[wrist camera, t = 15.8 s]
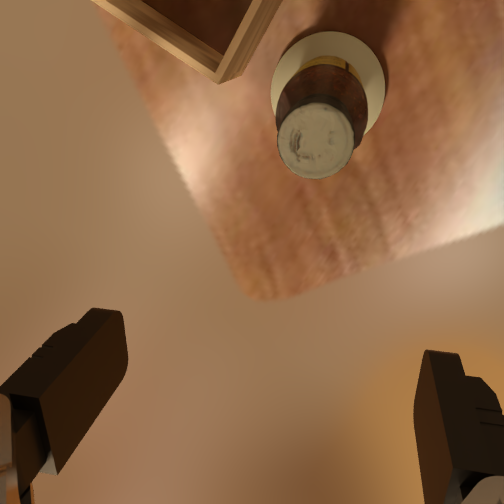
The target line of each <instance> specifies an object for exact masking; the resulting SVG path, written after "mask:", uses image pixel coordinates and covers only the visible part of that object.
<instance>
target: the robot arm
mask: <svg viewBox="0 0 504 504" xmlns="http://www.w3.org/2000/svg"><path fill="white" fill-rule="evenodd" d="M127 366H128V351H127V344H126V336H125V328H124V321H123V316H122V313H121V312H120V311H116V310H107V309H100V308H91V309H90V310H89V311H88V312H87V313H86V314H85V315H84V316H83V317H82V318H81V319H80V320H79V321H78V322H77V323H76V324H75V323H71V324H69V325H68V326H66V327H64V328H62V329H60V330H58V331H57V332H55V333H54V334H53V335H52V336H51V337H50V338H49V339H48V340H47V341H45V342H44V344H42V347H41V348H38V349H37V350H36V352H34V353H33V354H32V357H31V358H30V357H29V358H28V359H27V360H26V361H25V362H24V363H23V364H22V365H21V367H19V368H18V369H17V370H16V371H15V372H14V373H13V374H12V375H11V376H10V377H9V378H8V379H7V380H6V381H5V382H4V383H3V384H2V385H1V386H0V504H35V503H34V490H33V485H32V481H33V479H34V478H35V477H36V475H37V474H38V472H42V473H47V474H52V475H58V474H59V472H60V471H61V469H62V468H63V467H64V465H65V464H66V462H67V461H68V459H69V458H70V456H71V454H72V453H73V452H74V450H75V449H76V447H77V446H78V444H79V443H80V441H81V440H82V439H83V437H84V436H85V434H86V433H87V431H88V430H89V428H90V427H91V425H92V424H93V422H94V421H95V419H96V418H97V416H98V415H99V413H100V412H101V410H102V409H103V408H104V406H105V405H106V403H107V402H108V400H109V399H110V397H111V396H112V394H113V393H114V391H115V390H116V388H117V387H118V386H119V384H120V383H121V381H122V380H123V378H124V376H125V373H126V370H127ZM413 414H414V429H415V436H416V443H417V451H418V458H419V465H420V472H421V479H422V486H423V494H424V501H425V504H504V415H502V409H501V407H500V404H499V401H498V399H497V396H496V394H495V393H494V391H493V390H492V389H491V388H490V387H489V386H488V385H487V384H486V383H485V382H484V381H483V380H482V378H480V377H472V376H465V372H464V370H463V366H462V363H461V359H460V356H459V355H458V354H457V353H450V352H441V351H433V350H425V352H424V355H423V359H422V364H421V369H420V374H419V379H418V384H417V389H416V395H415V400H414V413H413Z"/></svg>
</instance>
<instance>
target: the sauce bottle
mask: <svg viewBox="0 0 504 504" xmlns="http://www.w3.org/2000/svg"><path fill="white" fill-rule="evenodd" d="M367 122H368V102H367V97H366V93H365V91H364V88H363V85H362V82H361V79H360V76H359V74H358V73H357V71H356V69H355V68H354V67H353V66H352V65H351V64H350V63H348V62H347V61H345V60H344V59H342V58H339V57H336V56H329V55H328V56H319V57H316V58H314V59H312V60H310V61H308V62H306V63H305V64H304V65H302V66H301V67H300V68H299V70H298V71H297V72H296V73H295V74H294V75H293V76H292V77H291V78H290V80H289V81H288V82H287V84H286V85H285V87H284V88H283V90H282V92H281V94H280V97H279V100H278V103H277V108H276V126H277V131H278V135H277V146H278V150H279V154H280V157H281V159H282V160H283V162H284V163H285V165H286V166H287V167H288V168H289V169H290V170H291V171H292V172H293V173H295V174H297V175H298V176H301V177H304V178H309V179H323V178H326V177H329V176H331V175H333V174H335V173H337V172H339V171H340V170H341V169H342V168H343V167H344V166H345V165H346V164H347V163H348V161H349V159H350V158H351V155H352V153H353V150H354V149H355V148H357V147H358V146H359V145H360V143H361V140H362V138H363V135H364V132H365V130H366V127H367Z"/></svg>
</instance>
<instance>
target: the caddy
mask: <svg viewBox="0 0 504 504" xmlns="http://www.w3.org/2000/svg"><path fill="white" fill-rule="evenodd" d="M91 1H93V2H94V3H96V4H97V5H99V6H100V7H102V8H103V9H105V10H106V11H108V12H109V13H111V14H112V15H114V16H115V17H117V18H118V19H120V20H121V21H123V22H124V23H126V24H127V25H129V26H130V27H132V28H133V29H135V30H136V31H138V32H139V33H141V34H142V35H144V36H145V37H147V38H148V39H150V40H151V41H153V42H154V43H156V44H157V45H159V46H161V47H162V48H164V49H165V50H167V51H168V52H170V53H171V54H173V55H174V56H176V57H177V58H179V59H180V60H182V61H183V62H185V63H186V64H188V65H189V66H191V67H192V68H194V69H195V70H197V71H198V72H200V73H201V74H203V75H204V76H206V77H207V78H209V79H210V80H212V81H213V82H215V83H216V84H221V83H224V82H226V81H229V80H231V79H234V78H237V77H239V76H241V75H242V74H243V72H244V70H245V68H246V66H247V64H248V63H249V61H250V59H251V57H252V55H253V53H254V52H255V50H256V48H257V46H258V44H259V42H260V41H261V39H262V37H263V35H264V33H265V31H266V30H267V28H268V26H269V24H270V22H271V20H272V19H273V17H274V15H275V13H276V11H277V9H278V8H279V6H280V4H281V2H282V0H253V1H252V3H251V5H250V6H249V8H248V10H247V12H246V14H245V16H244V18H243V20H242V22H241V24H240V26H239V28H238V30H237V32H236V34H235V35H234V37H233V39H232V41H231V43H230V45H229V47H228V49H227V51H226V53H225V55H224V56H223V55H222V54H220V53H219V52H217V51H216V50H214V49H213V48H211V47H210V46H208V45H207V44H205V43H204V42H202V41H201V40H199V39H198V38H196V37H195V36H193V35H192V34H190V33H189V32H187V31H186V30H184V29H183V28H181V27H180V26H178V25H177V24H175V23H174V22H172V21H171V20H169V19H168V18H166V17H165V16H163V15H162V14H160V13H159V12H158V11H156V10H155V9H153V8H152V7H150V6H149V5H147V4H146V3H144V2H143V1H141V0H91Z"/></svg>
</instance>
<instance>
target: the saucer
mask: <svg viewBox="0 0 504 504" xmlns="http://www.w3.org/2000/svg"><path fill="white" fill-rule="evenodd" d="M328 55H329V56H336V57H339V58H342V59H344V60H345V61H347V62H348V63H350V64H351V65H352V66H353V67H354V68H355V69H356V71H357V73H358V74H359V76H360V79H361V82H362V85H363V88H364V91H365V93H366V97H367V102H368V122H367V127H366V130H365V132H364V135H365V134H366V133H367V132H368V131H369V130H370V128H371V127H372V126H373V124H374V123H375V121H376V120H377V118H378V116H379V114H380V112H381V109H382V106H383V102H384V97H385V79H384V75H383V71H382V68H381V65H380V63H379V61H378V59H377V57H376V56H375V54H374V53H373V52H372V50H371V49H370V48H369V47H368V46H367V45H366V44H365V43H363V42H362V41H361V40H359V39H357V38H356V37H354V36H351V35H349V34H346V33H342V32H334V31H328V32H320V33H315V34H312V35H309V36H307V37H305V38H303V39H301V40H300V41H298V42H297V43H295V44H294V45H293V46H292V47H291V48H290V49H289V50H288V51H287V52H286V53H285V54H284V55H283V57H282V58H281V60H280V61H279V63H278V65H277V67H276V69H275V72H274V75H273V79H272V84H271V102H272V108H273V111H274V114H275V117H276V108H277V103H278V100H279V97H280V94H281V92H282V90H283V88H284V87H285V85H286V84H287V82H288V81H289V80H290V78H291V77H292V76H293V75H294V74H295V73H296V72H297V71H298V70H299V68H300V67H301V66H302V65H304V64H305V63H306V62H308V61H310V60H312V59H314V58H316V57H319V56H328ZM364 135H363V136H364Z"/></svg>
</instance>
